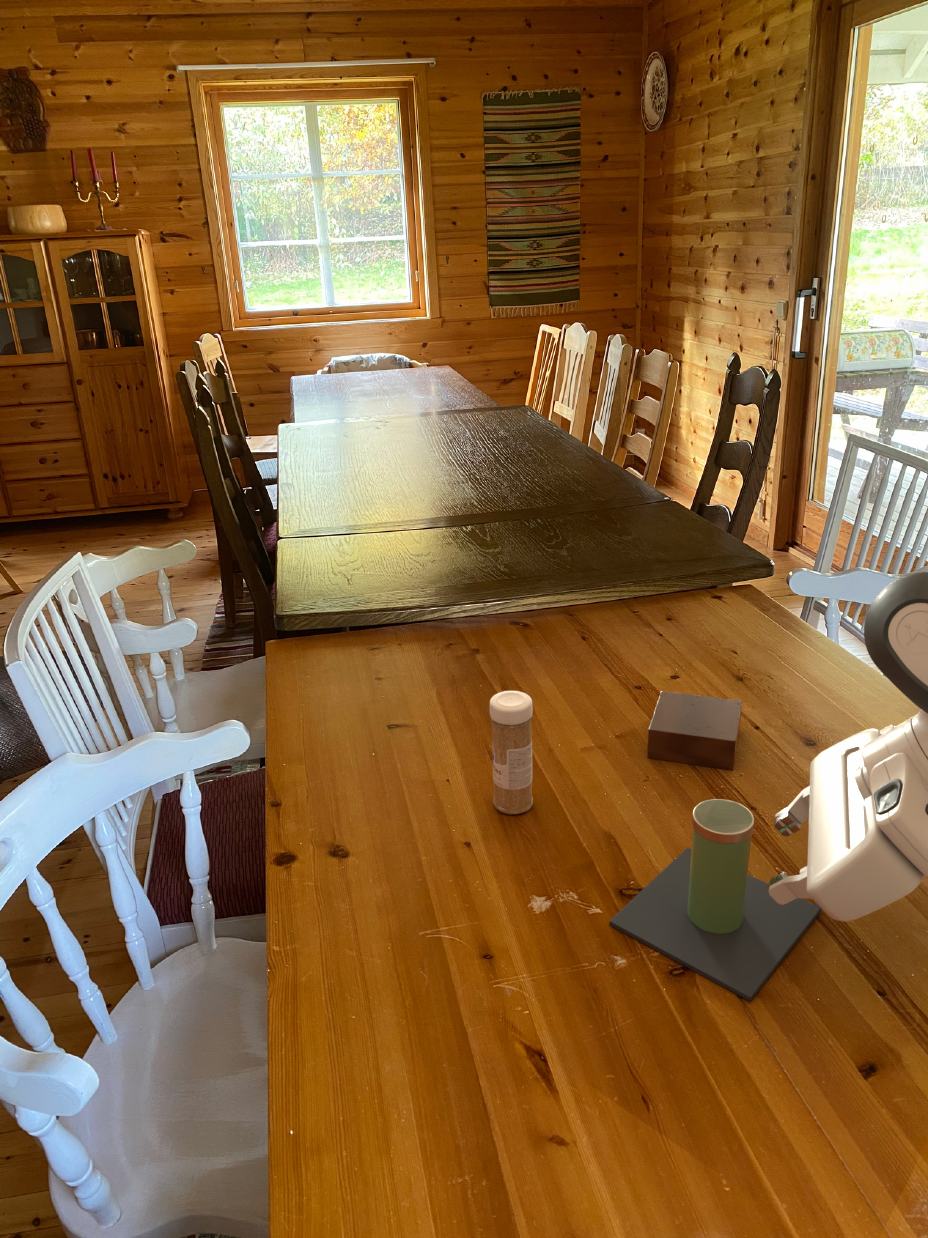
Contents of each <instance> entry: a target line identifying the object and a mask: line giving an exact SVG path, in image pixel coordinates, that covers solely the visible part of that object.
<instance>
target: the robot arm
mask: <svg viewBox="0 0 928 1238" xmlns="http://www.w3.org/2000/svg"><path fill="white" fill-rule="evenodd" d="M863 638H864V644H865V648H866V651H867V653H868V656H869V657H870V659H871V661H872V662H873V664H874V665H875V666H876V668H877V669H878V670H879V671H880V672H881V673H882V674H883V676H885V677H886V678H887V680H889V681H890V682H891V683H892V684H893V685H894V686H895V687H896V689H898V690H899V691H900V693H902V694H903V695H904V696H905V697H906V698H907V699H908V700H909V701H911V702H912V703H913V704H914V705H915V706H916V707H917V708H919V712H918V713H916V714H914V715H912V716H911V717H909V718H908V719H906V720H904V721H903V722H900V723H899V724H897V725H893V724H889V725H887V726H885V727H883V728H881V729H880V730H879V729H876V728H867V729H863V730H861V731H859V732H857V733H855V734H853V735H851V736H849V737H846V738H845V739H842V740H840V741H839V742H836V743H835V744H833V745H831V746H828V747H827V748H825V749H824V750H822V751H820V752H819V753H818V754H817V755H816V756H815V757H814V758H813V759H812V760H811V762H810V764H809V785H808V786H807V787H805V788H803V789H802V790H801V791H800V792H799V793H798V795H797V796H796V797H795V798H794V799H793V800H792V801H791V802H790V803H789V805H788V806H787V807H785V808H783V809H782V810H779V811H778V812H776V813H775V815H774V823H773V824H774V828H775V829H776V830H777V831H778V832H779V834H780V835H782V836H783V837H790V836H791V835H792V834H795V833H797V832H799V831H801V830H802V824H804V823H805V822H807V820H808V833H807V861H806V863H807V865H805V866H804V867H802V868H800V869H799V874H794V875H788V874H787V873H786V872H785V871H783V872H780V873H778V874H777V875H776V876H773V877H771V878H770V879H769V883H768V884H769V895H770V896H771V897H772V898H773V899H774V900H775V901H776V902H777V903H778V904H781V905H784V904H787V903H789V902H791V901H793V900H795V899H797V898H801V899H803V900H805V899H808V900H809V899H811V900H813V901H814V902H815V903H816V905H817V906H819V907H820V908H821V911H823V912H824V913H825V914H827V916H828V917H829V918H831V919H832V920H834V921H838V922H853V921H855V920H858V919H861V918H863V917H865V916H867V915H870V914H872V913H875V912H877V911H879V910H881V909H884V908H885V907H887V906H889V905H891V904H893V903H895V902H897V901H899V900H901V899H902V898H905V897H906V896H908V895H909V894H911V893H912V892H913V891H915V890H916V889H917V888H918V887H919V885H920V884H921V883H922V881H923V879H924V876H925V877H926V878H927V879H928V571H922V572H921V571H920V572H915V573H910V574H907V575H904V576H902V577H899V578H897V579H895V580H894V581H892V582H891V583H889V584H887V585H886V586H885V587H884V588H882V589H881V591H880V592H879V593H878V594H877V595H876V596H875V598H874V599H873V600H872V602H871V604H870V605H869V607H868V610H867V612H866V616H865V618H864V624H863Z"/></svg>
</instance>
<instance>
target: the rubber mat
mask: <svg viewBox="0 0 928 1238" xmlns="http://www.w3.org/2000/svg"><path fill="white" fill-rule="evenodd" d="M690 863H691V848H690V847H686V848H685V849H684V850H683V851H682V852H681V853H680V854H679V855H678V856H677V857H675V858H674V860H672V861H671V862H670V863H669V864H668V865H667V866H666V867H665V868H664V869H663V870H662V871H661V872H659V874H658V875H656V876H655V877H654V878H653V879H652V880H651V881H650V882H649V883H648V884H647V885H646V886H645V887H644V888H643V889H642V890H640V892H638V893H637V894H636V895H635V896H634V897H633V898H632V899H631V900H630V901H629V902H628V903H627V904H626V905H625V906H623V908H621V910H619V911H618V912H617V913H616V914H615V915H614V916H613V917H612V918H611V919H610V920H609V921H608V922H609V923H608V924H609V926H610V927H612V928H613V929H616V930H617V931H620V932H621V933H623V934H625V935H627V936H628V937H631V938H632V939H634V940H636V941H638V942H640V943H642V944H643V945H645V946H646V947H649V948H651V949H652V950H655V951H656V952H658V953H660V954H662V955H664V956H665V957H667V958H670V959H671V960H672V961H675V962H676V963H678V964H681V965H682V966H684V967H686V968H688V969H689V970H691V971H693V972H694V973H697V974H699V975H700V976H702V977H704V978H705V979H708V980H709V981H711V982H713V983H715V984H717V985H718V986H720V987H722V988H724V989H726V990H728V991H730V992H732V993H733V994H736V995H737V996H739V997H741V998H742V999H744V1000H746V1001H748V1002H751V1001H752V1000H753V999H754V998H755V996H756V995H757V993H758V992H759V991H760V990H761V989H762V987H763V986H764V985H765V983H766V982H767V981H768V980H769V978H770V977H771V976H772V975H773V973H774V972H775V971H776V969H777V968H778V967H779V966H780V964H781V963H782V962H783V961H784V959H785V958H786V957H787V955H788V954H789V953H790V952H791V951H792V949H793V948H794V946H795V945H796V944H797V943H798V942H799V940H800V939H801V938H802V937H803V936H804V934H805V933H806V931H807V930H808V929H809V927H811V925H812V924H813V922H815V920H816V919H817V917H818V916H819V915H820V913H821V912H822V909H821V908H820V907H819V905H817V904H815V903H813V902H810V901H808V900H805V899H801V898H797V899H795V900H793V901H791V902H789V903H787V904H784V905H781V904H778V903H777V902H776V901H775V900H774V899H773V898H772V897H771V896H770V895H769V883H767V882H766V881H763V880H761V879H759V878H757V877H755V876H752V875H750V874H748V876H747V886H746V896H745V906H744V916H743V922H742V924H741V926H740V927H739V928H738V929H737V930H735V931H733V932H730V933H724V934H717V933H711V932H707V931H704V930H702V929H700V928H699V927H697V926H696V925H695V924H693V923H692V921H691V920H690V919H689V916H688V913H687V907H688V892H689V878H690Z"/></svg>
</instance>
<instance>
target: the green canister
mask: <svg viewBox="0 0 928 1238" xmlns="http://www.w3.org/2000/svg"><path fill="white" fill-rule="evenodd" d="M691 820H692V821H691V823H692V824H691V825H692V836H691V837H692V838H691V848H690V849H691V863H690V878H689V892H688V907H687V913H688V916H689V919H690V920H691V921H692V923H693V924H695V925H696V926H697V927H699V928H700V929H702V930H704V931H707V932H711V933H717V934H724V933H730V932H733V931H735V930H737V929H738V928H739V927H740V926H741V924H742V922H743V916H744V906H745V896H746V886H747V876H748V875H749V866H750V856H751V855H750V854H751V845H752V835H753V833H754V826H755V818H754V815H753V813H752V812H751V810H749V808H747V807H746V806H744V805H743V804H741V803H739V802H736V801H734V800H729V799H722V798H712V799H711V798H710V799H707V800H704V801H701V802H699V803H698V804H696V806H695V807H694V808H693V811H692V818H691Z"/></svg>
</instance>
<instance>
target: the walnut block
mask: <svg viewBox="0 0 928 1238" xmlns="http://www.w3.org/2000/svg"><path fill="white" fill-rule="evenodd" d="M742 709H743V700H739V699H730V698H724V697H714V696H707V695H699V694H689V693H680V692H673V691H665V690H662V691H660V694H659V697H658V700H657V703H656V706H655V709H654V712H653V715H652V718H651V721H650V724H649V727H648V732H647V752H646V753H647V755H646V757H647V759H650V760H651V759H653V760H659V761H665V762H672V763H673V762H674V763H681V764H686V765H693V766H701V767H706V768H715V769H722V770H726V771H734V768H735V762H736V756H737V749H738V743H739V736H740V731H741V721H742Z"/></svg>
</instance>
